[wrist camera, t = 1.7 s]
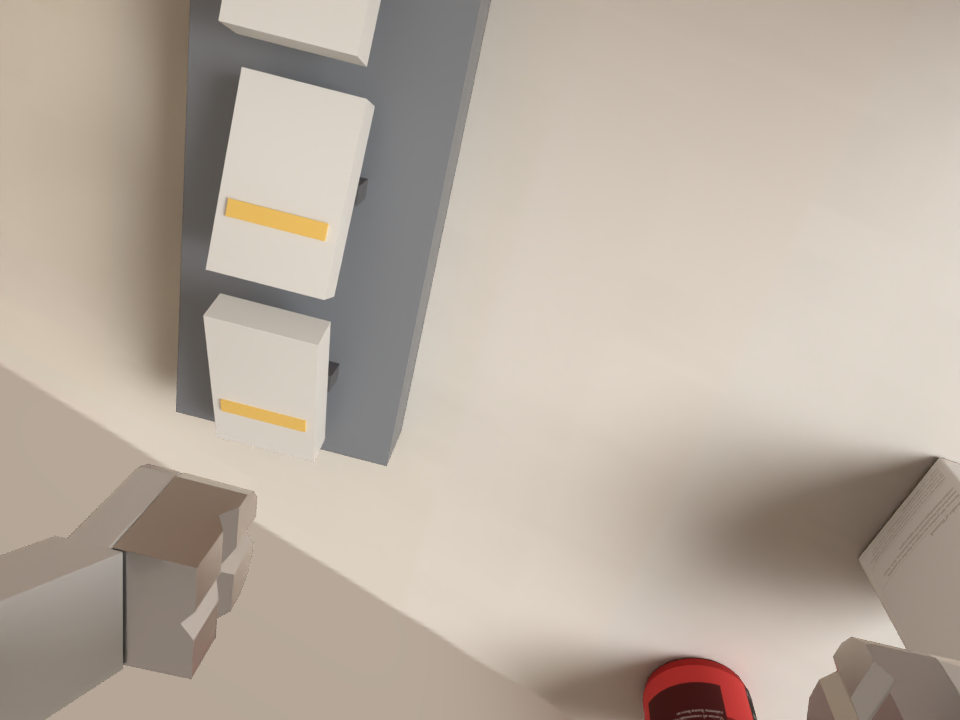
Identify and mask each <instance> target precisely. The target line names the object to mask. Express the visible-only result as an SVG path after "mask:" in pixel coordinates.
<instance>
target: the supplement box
mask: <svg viewBox="0 0 960 720" xmlns="http://www.w3.org/2000/svg"><path fill="white" fill-rule="evenodd" d="M859 562H860V564H861V566H862V568H863V569H864V571H865V573H866V575H867V577H868V579H869V581H870V582H871V584H872V586H873V588H874V590H875V592H876V594H877V595H878V597H879V599H880V601H881V603H882V605H883V607H884V608H885V610H886V612H887V614H888V616H889V618H890V620H891V622H892V623H893V625H894V627H895V629H896V631H897V633H898V635H899V636H900V638H901V640H902V642H903V644H904V646H905V648H906V649H907V650H910V651H914V652H918V653H922V654H931V655H936V656H940V657H945V658H949V659H954V660H958V661H960V464H957V463H954V462H951V461H949V460H946V459H943V458H939V459H938V460H937V461H936V462H935V463H934V465H933V466H932V467H931V468H930V470H929V471H928V472H927V473H926V475H925V476H924V477H923V478H922V480H921V481H920V482H919V483H918V485H917V486H916V487H915V488H914V490H913V491H912V492H911V493H910V495H909V496H908V497H907V498H906V500H905V501H904V502H903V503H902V505H901V506H900V507H899V508H898V510H897V511H896V512H895V513H894V515H893V516H892V517H891V518H890V520H889V521H888V522H887V523H886V524H885V526H884V527H883V528H882V529H881V531H880V532H879V533H878V534H877V536H876V537H875V538H874V540H873V541H872V542H871V543H870V545H869V546H868V547H867V548H866V550H865V551H864V552H863V553H862V554H861V556H860V557H859Z"/></svg>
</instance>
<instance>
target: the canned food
mask: <svg viewBox="0 0 960 720" xmlns="http://www.w3.org/2000/svg"><path fill="white" fill-rule="evenodd" d="M643 708H644V718H645V720H757V718H756V714H755V710H754V707H753V703H752V699H751V696H750V694H749V691H748V690H747V688H746V687H745V685H744V684H743V682H742V681H741V679H740V678H739V676H738V675H737V674H735V673H734V672H733V671H732V670H731V669H729V668H727V667H726V666H724V665H722V664H719V663H717V662H714V661H710V660H706V659H697V658H690V659H680V660H675V661H672V662H669V663H666V664H665V665H663V666H661V667H659V668H658V669H657V670H655V671H654V672H653V673H652V674H651V676H650V677H649V678H648V681H647V683H646V686H645V690H644V694H643Z"/></svg>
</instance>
